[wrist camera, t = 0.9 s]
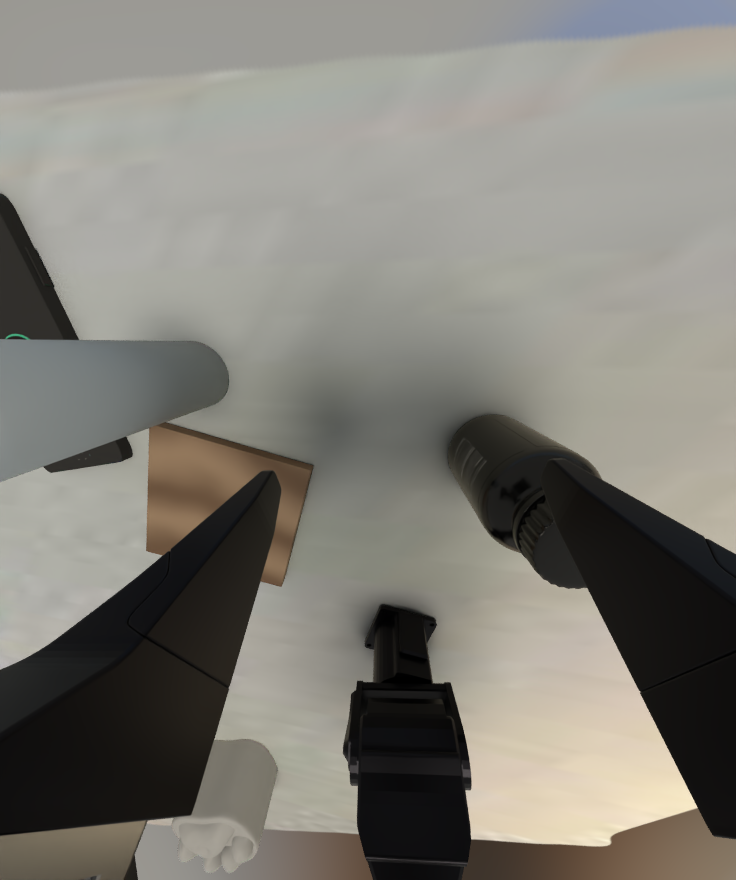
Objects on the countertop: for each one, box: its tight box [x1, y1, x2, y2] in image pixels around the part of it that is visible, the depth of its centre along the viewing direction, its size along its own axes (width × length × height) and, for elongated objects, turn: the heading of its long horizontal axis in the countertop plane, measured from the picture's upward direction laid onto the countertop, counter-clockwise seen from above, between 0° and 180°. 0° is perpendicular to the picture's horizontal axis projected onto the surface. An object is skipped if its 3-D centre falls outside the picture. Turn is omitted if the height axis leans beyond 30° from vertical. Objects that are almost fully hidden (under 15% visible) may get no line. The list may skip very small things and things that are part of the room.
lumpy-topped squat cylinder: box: [172, 739, 278, 873], centre depth 38 cm, size 10×13×9 cm
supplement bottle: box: [448, 415, 602, 589], centre depth 18 cm, size 7×7×12 cm
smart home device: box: [0, 194, 132, 473], centre depth 22 cm, size 8×2×20 cm
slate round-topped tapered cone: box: [0, 339, 229, 482], centre depth 16 cm, size 5×5×14 cm
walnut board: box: [146, 422, 313, 587], centre depth 26 cm, size 14×14×1 cm
